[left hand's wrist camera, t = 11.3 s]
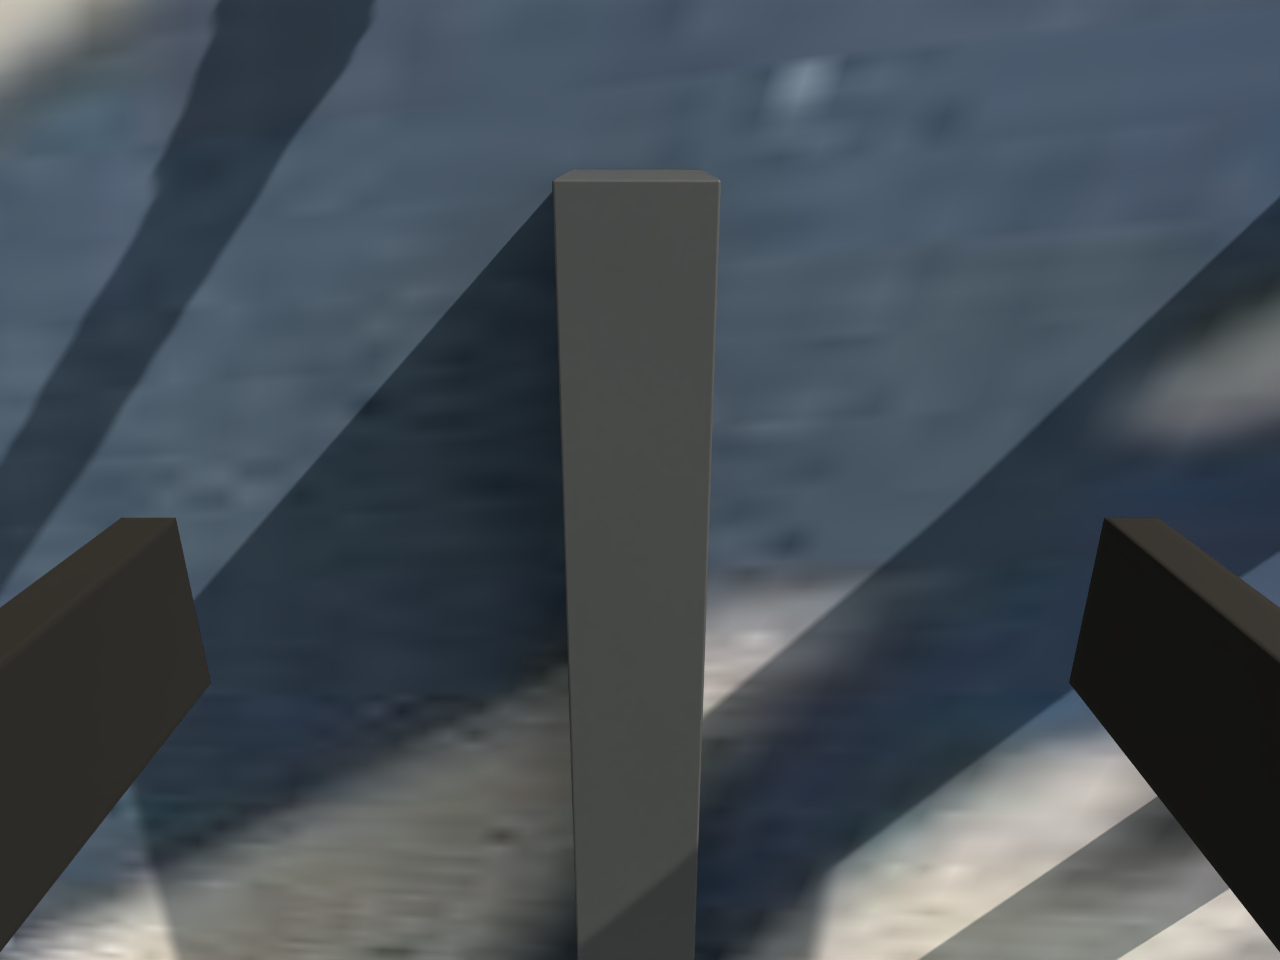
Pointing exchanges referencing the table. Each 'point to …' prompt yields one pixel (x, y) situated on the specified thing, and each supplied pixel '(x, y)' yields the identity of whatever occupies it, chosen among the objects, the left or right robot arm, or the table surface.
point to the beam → (636, 541)
